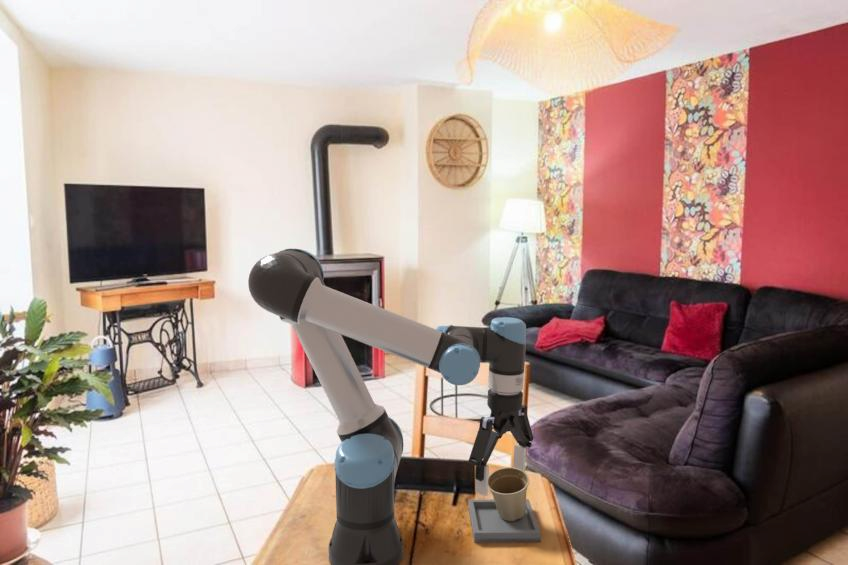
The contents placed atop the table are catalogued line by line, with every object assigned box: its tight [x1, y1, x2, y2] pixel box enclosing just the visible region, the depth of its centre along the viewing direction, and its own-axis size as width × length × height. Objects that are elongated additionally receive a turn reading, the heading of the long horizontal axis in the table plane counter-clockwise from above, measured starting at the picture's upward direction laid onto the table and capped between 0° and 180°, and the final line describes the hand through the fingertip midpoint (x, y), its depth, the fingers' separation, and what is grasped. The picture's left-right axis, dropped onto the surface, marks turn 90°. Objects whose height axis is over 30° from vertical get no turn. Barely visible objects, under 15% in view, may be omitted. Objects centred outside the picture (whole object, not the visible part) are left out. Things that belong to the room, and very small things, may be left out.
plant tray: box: [468, 498, 542, 544], centre depth 135 cm, size 14×14×2 cm
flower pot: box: [488, 466, 530, 521], centre depth 136 cm, size 9×9×9 cm
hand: (500, 483), depth 134 cm, fingers open, 13 cm apart
